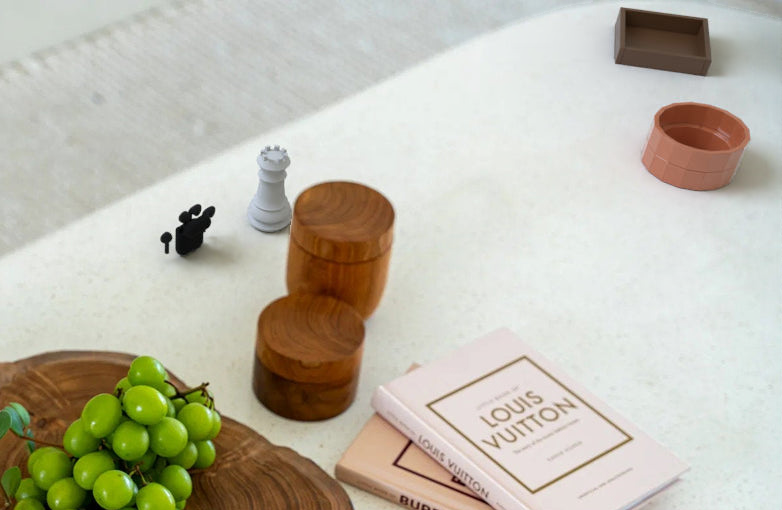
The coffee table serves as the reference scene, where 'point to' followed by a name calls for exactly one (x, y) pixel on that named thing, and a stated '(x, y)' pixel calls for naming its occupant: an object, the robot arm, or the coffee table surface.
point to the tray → (662, 41)
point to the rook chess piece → (270, 192)
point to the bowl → (695, 146)
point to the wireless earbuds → (189, 230)
